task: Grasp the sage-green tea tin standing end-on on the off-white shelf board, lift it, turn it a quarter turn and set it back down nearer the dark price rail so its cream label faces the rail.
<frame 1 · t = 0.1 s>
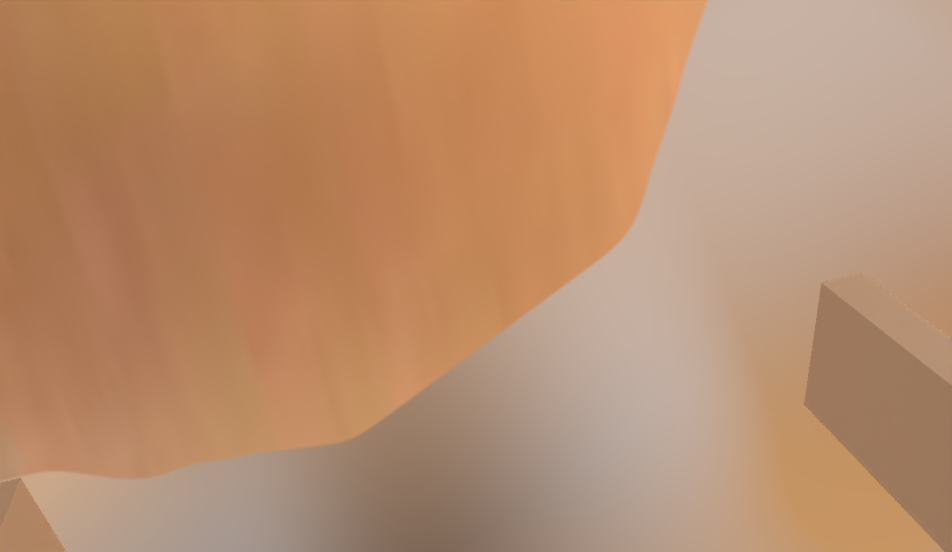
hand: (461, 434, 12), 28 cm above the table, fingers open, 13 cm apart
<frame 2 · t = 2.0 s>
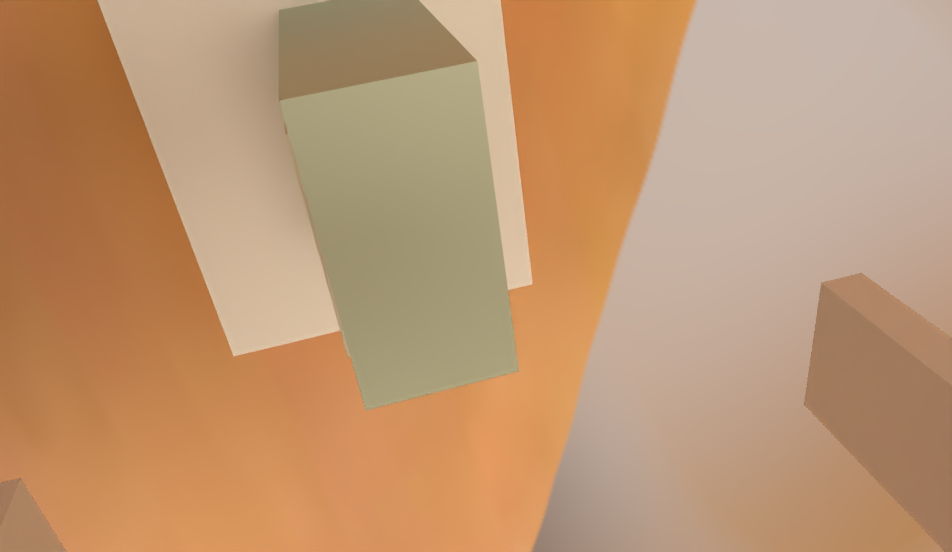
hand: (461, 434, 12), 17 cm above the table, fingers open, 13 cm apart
tea tin: (369, 120, 25), point 1 cm above the table, touching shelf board
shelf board: (331, 88, 26), on the table
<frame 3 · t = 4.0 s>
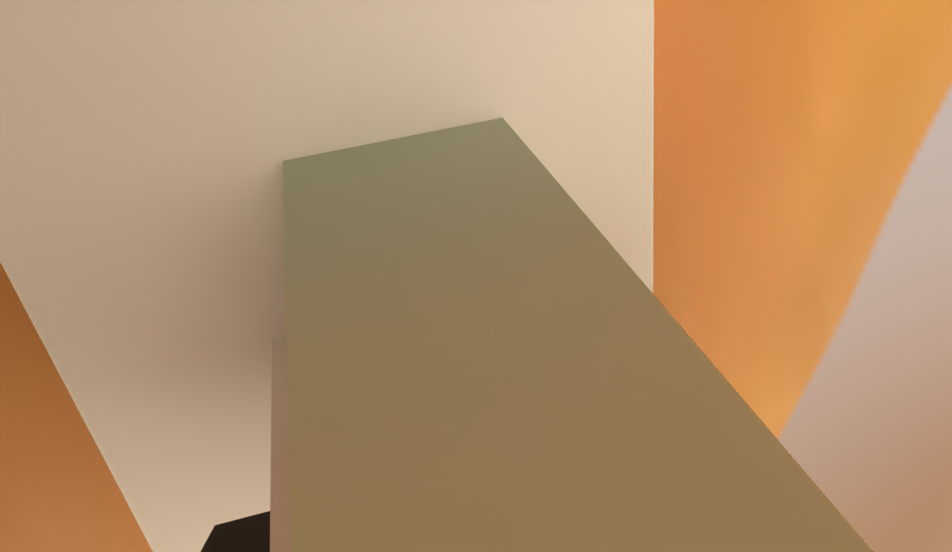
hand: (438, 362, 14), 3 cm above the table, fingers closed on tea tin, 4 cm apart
tea tin: (429, 321, 15), point 1 cm above the table, touching gripper, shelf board
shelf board: (363, 264, 16), on the table
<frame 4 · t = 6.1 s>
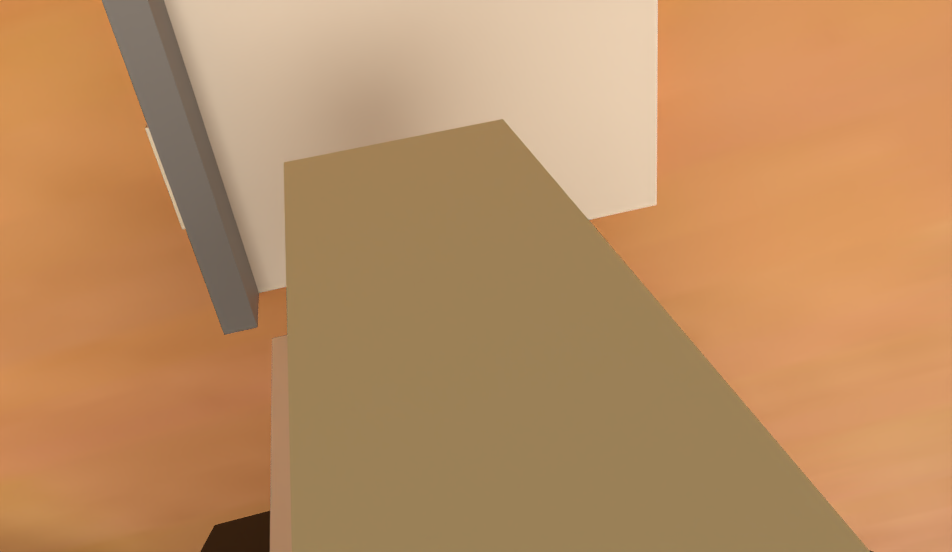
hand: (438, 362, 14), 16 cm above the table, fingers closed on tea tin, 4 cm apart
tea tin: (429, 322, 15), point 15 cm above the table, touching gripper
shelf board: (422, 99, 28), on the table
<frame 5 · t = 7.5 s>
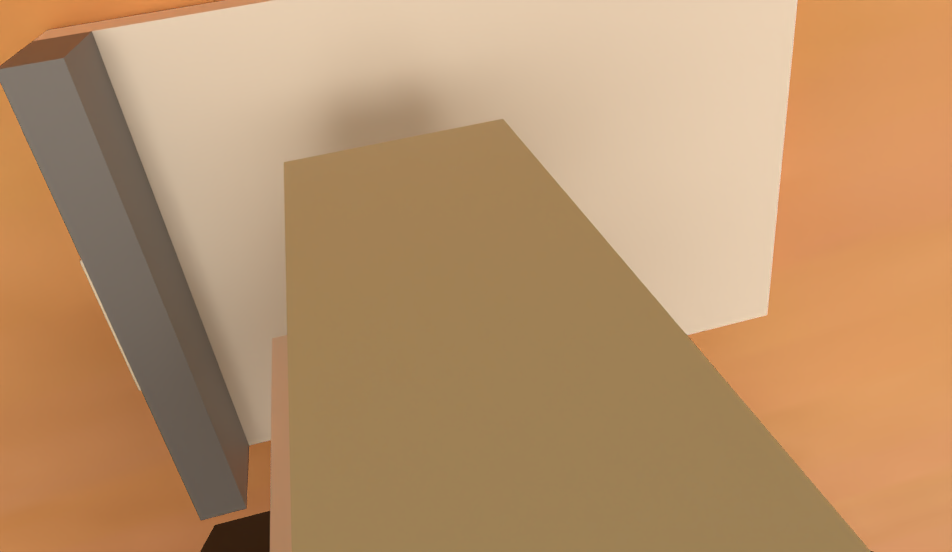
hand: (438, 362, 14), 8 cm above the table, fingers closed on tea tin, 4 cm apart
tea tin: (429, 322, 15), point 6 cm above the table, touching gripper
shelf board: (469, 190, 21), on the table
when the fingers open (4 cm above the table, at t = 8.4 s): tea tin drops 2 cm, resting on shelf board.
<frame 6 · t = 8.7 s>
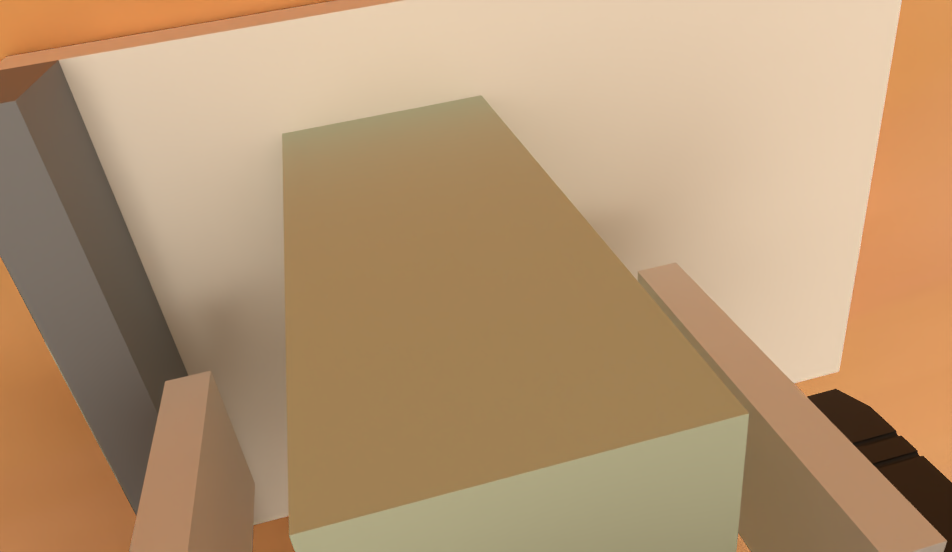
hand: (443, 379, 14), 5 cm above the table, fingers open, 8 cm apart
tea tin: (416, 284, 17), point 1 cm above the table, touching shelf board
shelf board: (506, 236, 18), on the table
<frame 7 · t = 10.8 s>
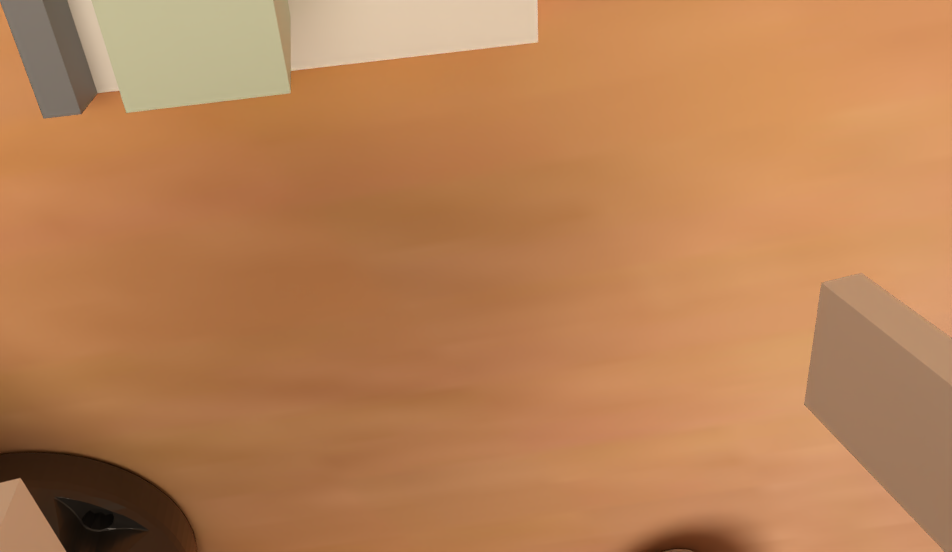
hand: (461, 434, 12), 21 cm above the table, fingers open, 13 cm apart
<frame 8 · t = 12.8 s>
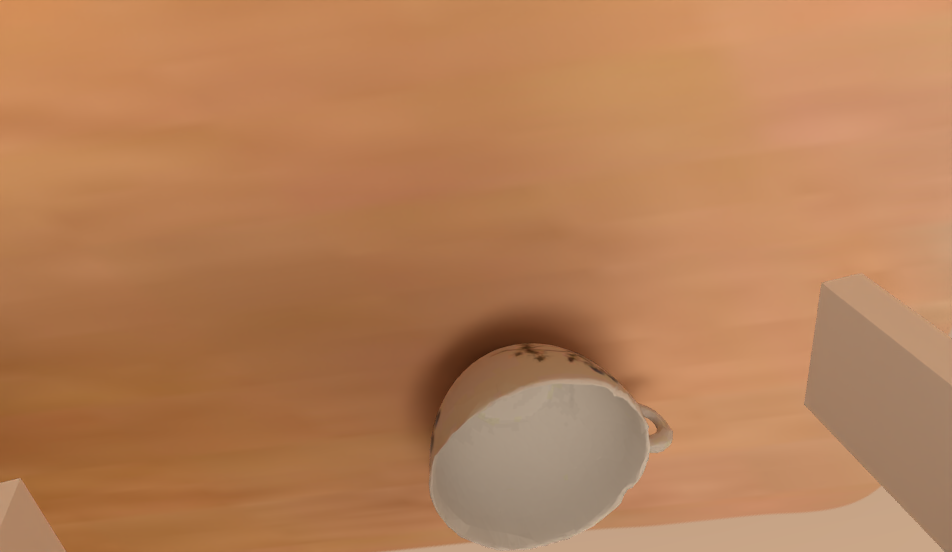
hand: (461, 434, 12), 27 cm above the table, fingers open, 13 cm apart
teacup: (523, 381, 47), on the table
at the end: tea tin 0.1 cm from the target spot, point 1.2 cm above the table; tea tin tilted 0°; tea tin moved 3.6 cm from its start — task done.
